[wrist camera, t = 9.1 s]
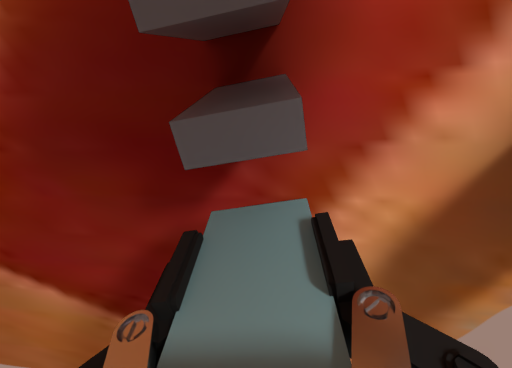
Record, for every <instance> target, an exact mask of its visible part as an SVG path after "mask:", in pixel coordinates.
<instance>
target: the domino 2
mask: <svg viewBox="0 0 512 368" xmlns="http://www.w3.org/2000/svg"><path fill="white" fill-rule="evenodd" d="M169 124H170V127H171V130H172V133H173V136H174V139H175V142H176V145H177V148H178V151H179V154H180V157H181V160H182V163H183V166H184V169H185V170H188V169H195V168H201V167H207V166H213V165H219V164H225V163H231V162H237V161H244V160H250V159H256V158H262V157H268V156H274V155H280V154H287V153H293V152H299V151H305V150H307V142H306V133H305V124H304V115H303V106H302V97H301V96H300V94H299V93H298V91H297V90H296V89H295V87H294V86H293V84H292V83H291V81H290V80H289V78H288V77H287V75H286V74H283V75H278V76H273V77H268V78H263V79H258V80H253V81H248V82H243V83H238V84H233V85H228V86H223V87H218V88H215V89H213V90H212V91H211V92H209V93H208V94H206V95H205V96H204V97H202V98H201V99H200V100H198V101H197V102H196V103H194V104H193V105H192V106H190V107H189V108H187V109H186V110H185V111H183V112H182V113H181V114H179V115H178V116H177V117H175V118H174V119H173V120H171V121H170V122H169Z"/></svg>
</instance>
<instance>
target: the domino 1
mask: <svg viewBox="0 0 512 368" xmlns="http://www.w3.org/2000/svg"><path fill="white" fill-rule="evenodd" d="M128 1H129V4H130V7H131V10H132V13H133V16H134V19H135V22H136V25H137V28H138V31H139V33H146V34H154V35H162V36H170V37H177V38H185V39H193V40H201V41H206V40H210V39H215V38H219V37H224V36H228V35H233V34H237V33H242V32H246V31H251V30H255V29H260V28H264V27H269V26H273V25H278V24H279V23H280V21H281V18H282V16H283V14H284V12H285V9H286V7H287V5H288V2H289V0H128Z"/></svg>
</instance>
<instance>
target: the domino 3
mask: <svg viewBox="0 0 512 368" xmlns="http://www.w3.org/2000/svg"><path fill="white" fill-rule="evenodd" d="M311 218H312V216H311V212H310V208H309V205H308V201H307V198H306V199H299V200H291V201H284V202H277V203H270V204H263V205H256V206H249V207H241V208H234V209H227V210H220V211H213V212H211V215H210V217H209V220H208V223H207V226H206V229H205V232H204V234H203V238H204V240H203V243H202V245H201V248H200V251H199V254H198V257H197V260H196V263H195V266H194V269H193V272H192V275H191V278H190V281H189V283H188V286H187V289H186V292H185V295H184V298H183V301H182V304H181V307H180V310H179V311H176V314H175V317H174V320H173V322H172V325H171V328H170V331H169V334H168V337H167V340H166V342H165V345H164V348H163V351H162V354H161V357H160V359H159V362H158V365H157V368H351V361H350V357H349V354H348V350H347V346H346V342H345V339H344V335H343V331H342V327H341V324H340V320H339V316H338V313H337V309H336V305H335V301H334V298H333V296H330V295H329V291H328V287H327V283H326V280H325V276H324V272H323V268H322V264H321V260H320V256H319V252H318V248H317V244H316V240H315V236H314V232H313V228H312V224H311Z"/></svg>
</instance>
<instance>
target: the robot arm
mask: <svg viewBox="0 0 512 368" xmlns="http://www.w3.org/2000/svg"><path fill="white" fill-rule="evenodd" d="M311 224H312V228H313V232H314V236H315V240H316V244H317V248H318V252H319V256H320V260H321V264H322V268H323V272H324V276H325V280H326V283H327V287H328V291H329V295H330V296H333V298H334V301H335V305H336V309H337V313H338V316H339V320H340V324H341V327H342V331H343V335H344V339H345V342H346V346H347V350H348V354H349V357H350V358H351V359H352V360H351V368H498V367H497V365H496V364H495V363H494V362H492V361H491V360H490V359H489V358H488V357H486V356H485V355H483V354H481V353H480V352H479V351H477V350H475V349H473V348H471V347H469V346H467V345H465V344H463V343H461V342H459V341H457V340H456V339H454V338H452V337H450V336H448V335H446V334H444V333H442V332H440V331H438V330H436V329H434V328H432V327H430V326H428V325H427V324H425V323H423V322H421V321H419V320H417V319H415V318H413V317H411V316H409V315H407V314H405V313H403V312H402V310H401V306H400V303H399V301H398V299H397V298H396V297H395V296H394V295H393V294H392V293H390V292H389V291H387V290H385V289H383V288H379V287H373V284H372V282H371V280H370V278H369V275H368V273H367V271H366V269H365V267H364V264H363V262H362V260H361V258H360V256H359V253H358V251H357V249H356V247H355V244H354V242H353V241H352V240H343V241H339V240H338V238H337V235H336V232H335V230H334V227H333V225H332V222H331V219H330V217H329V214H328V212H325V213H318V214H315V217H313V218H311ZM203 240H204V238H203V235H202V233H198V231H197V230H194V231H186V232H184V233H183V235H182V237H181V239H180V241H179V243H178V245H177V247H176V250H175V252H174V254H173V256H172V258H171V260H170V262H169V263H168V264H167V265H166V267H165V269H164V271H163V273H162V275H161V277H160V279H159V282H158V284H157V286H156V288H155V290H154V292H153V294H152V296H151V298H150V301H149V303H148V305H147V307H146V309H145V310H139V311H135V312H133V313H131V314H129V315H128V316H126V317H125V318H124V319H122V320H121V321H120V322H119V324H118V325H117V326H116V328H115V329H114V332H113V334H112V337H111V341H110V345H109V346H107V347H106V348H105V349H103V350H102V351H101V352H99V353H98V354H96V355H95V356H94V357H92V358H91V359H90V360H88V361H87V362H86V363H84V364H83V365H81V366H80V367H79V368H157V365H158V362H159V359H160V357H161V354H162V351H163V348H164V345H165V342H166V340H167V337H168V334H169V331H170V328H171V325H172V322H173V320H174V317H175V314H176V311H179V310H180V307H181V304H182V301H183V298H184V295H185V292H186V289H187V286H188V283H189V281H190V278H191V275H192V272H193V269H194V266H195V263H196V260H197V257H198V254H199V251H200V248H201V245H202V243H203Z"/></svg>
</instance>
